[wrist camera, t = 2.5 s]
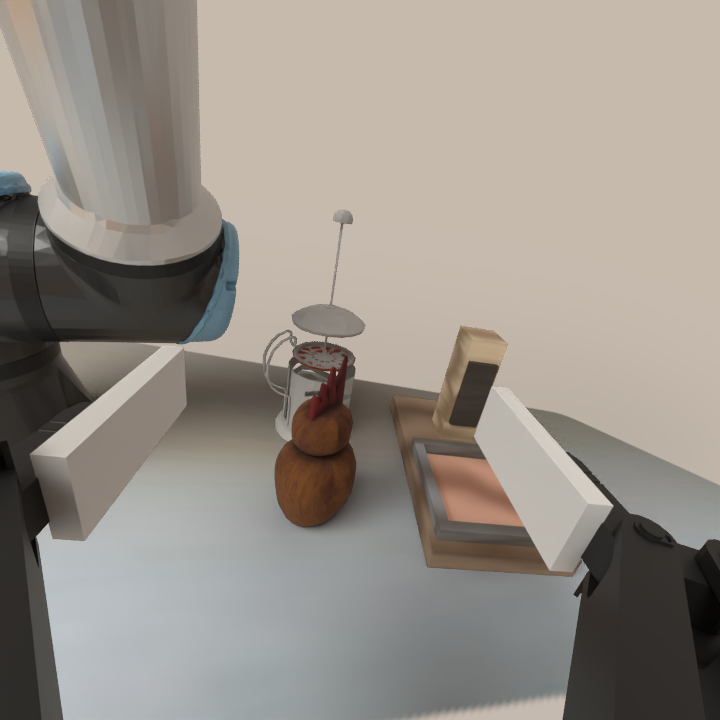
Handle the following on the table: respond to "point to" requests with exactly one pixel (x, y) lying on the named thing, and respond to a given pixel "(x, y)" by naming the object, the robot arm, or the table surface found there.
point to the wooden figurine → (317, 456)
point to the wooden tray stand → (462, 469)
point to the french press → (316, 350)
